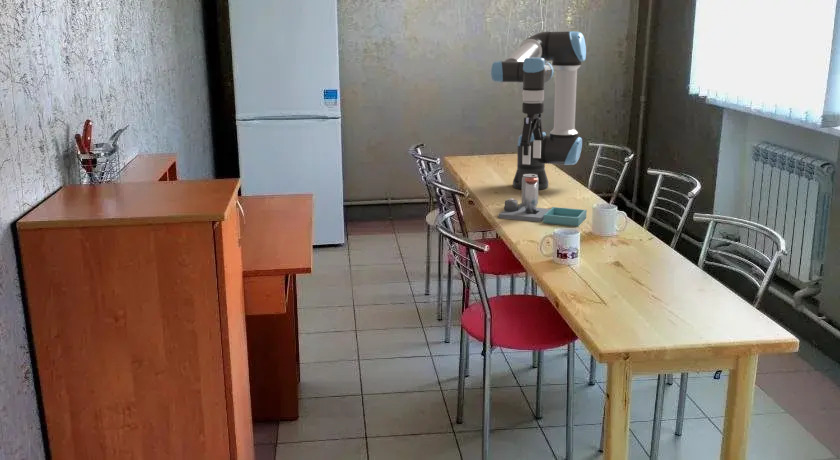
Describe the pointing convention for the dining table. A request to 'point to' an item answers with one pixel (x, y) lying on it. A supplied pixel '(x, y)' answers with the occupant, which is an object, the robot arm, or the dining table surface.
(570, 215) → the tray
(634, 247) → the dining table surface
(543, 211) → the board
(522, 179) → the beverage can
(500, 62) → the robot arm
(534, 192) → the bottle with red cap
